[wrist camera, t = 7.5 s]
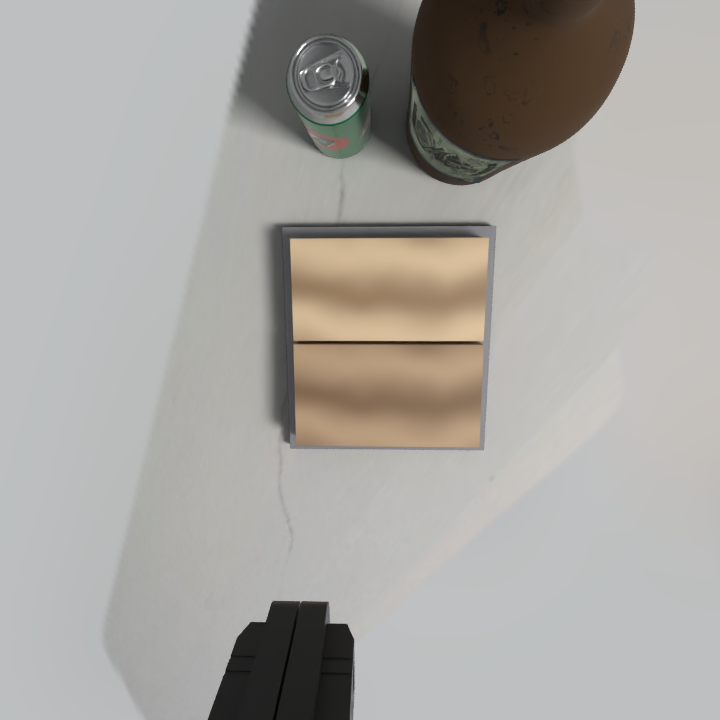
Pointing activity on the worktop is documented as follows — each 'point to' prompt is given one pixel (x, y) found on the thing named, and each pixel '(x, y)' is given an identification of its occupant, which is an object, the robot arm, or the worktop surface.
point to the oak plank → (389, 289)
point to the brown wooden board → (388, 393)
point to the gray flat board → (421, 233)
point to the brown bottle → (508, 79)
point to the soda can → (331, 94)
